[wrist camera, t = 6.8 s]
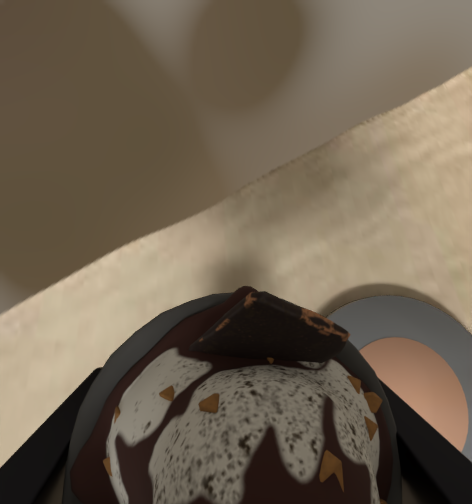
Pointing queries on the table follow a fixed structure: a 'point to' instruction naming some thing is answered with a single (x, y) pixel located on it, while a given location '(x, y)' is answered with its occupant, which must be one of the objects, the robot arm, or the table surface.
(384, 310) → the dessert plate
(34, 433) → the robot arm
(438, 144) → the table surface
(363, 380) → the sundae
